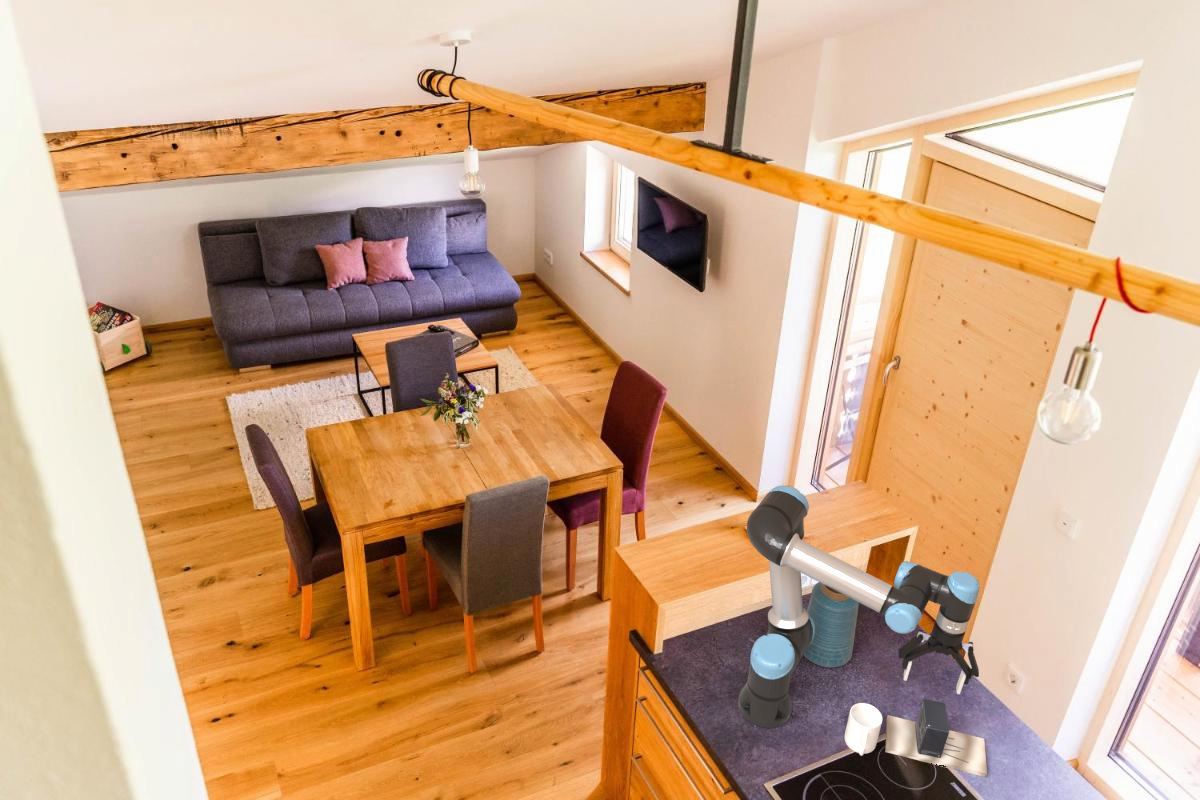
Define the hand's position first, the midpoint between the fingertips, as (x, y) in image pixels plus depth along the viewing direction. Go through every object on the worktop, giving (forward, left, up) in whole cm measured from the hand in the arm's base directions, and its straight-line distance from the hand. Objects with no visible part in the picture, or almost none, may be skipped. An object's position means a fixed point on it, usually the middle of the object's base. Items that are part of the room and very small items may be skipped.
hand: (931, 683), depth 237 cm
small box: (+3, -1, -20) cm, 20 cm away
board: (+5, -1, -21) cm, 22 cm away
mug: (-15, -8, -22) cm, 27 cm away
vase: (-27, +26, -22) cm, 43 cm away
